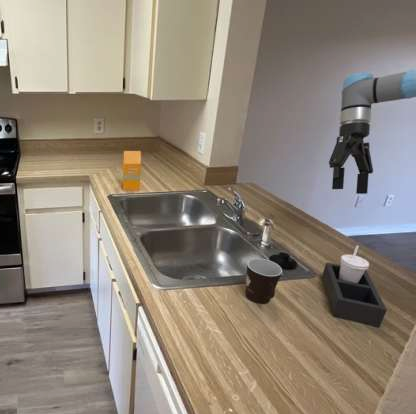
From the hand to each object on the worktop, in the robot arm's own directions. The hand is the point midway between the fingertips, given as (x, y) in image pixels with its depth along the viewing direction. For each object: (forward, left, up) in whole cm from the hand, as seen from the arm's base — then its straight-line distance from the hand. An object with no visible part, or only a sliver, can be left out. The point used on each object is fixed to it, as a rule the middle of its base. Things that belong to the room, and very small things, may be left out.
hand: (349, 191), depth 104 cm
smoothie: (-1, +20, -23) cm, 31 cm away
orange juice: (+84, -38, -24) cm, 96 cm away
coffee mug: (+22, +35, -24) cm, 48 cm away
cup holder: (-1, +25, -24) cm, 34 cm away
